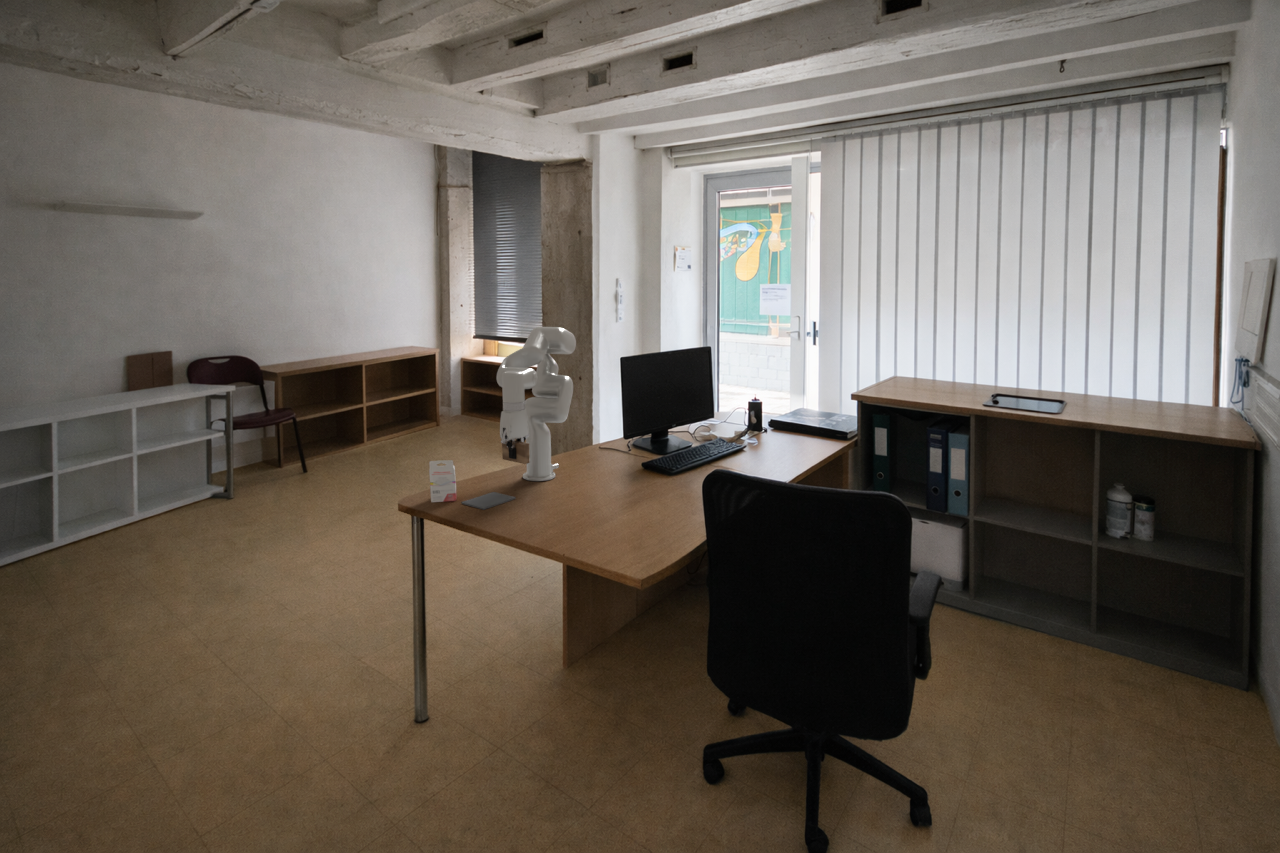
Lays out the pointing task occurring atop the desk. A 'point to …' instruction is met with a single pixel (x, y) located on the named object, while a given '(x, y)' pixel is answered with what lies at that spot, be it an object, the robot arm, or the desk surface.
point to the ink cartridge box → (442, 481)
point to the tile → (517, 452)
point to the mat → (488, 500)
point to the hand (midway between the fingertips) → (515, 457)
